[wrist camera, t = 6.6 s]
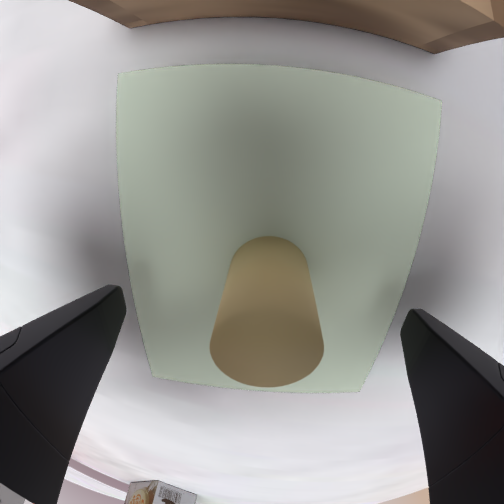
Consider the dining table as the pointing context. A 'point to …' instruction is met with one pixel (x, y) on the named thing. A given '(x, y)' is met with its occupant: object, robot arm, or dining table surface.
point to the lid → (269, 219)
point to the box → (334, 16)
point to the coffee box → (157, 494)
